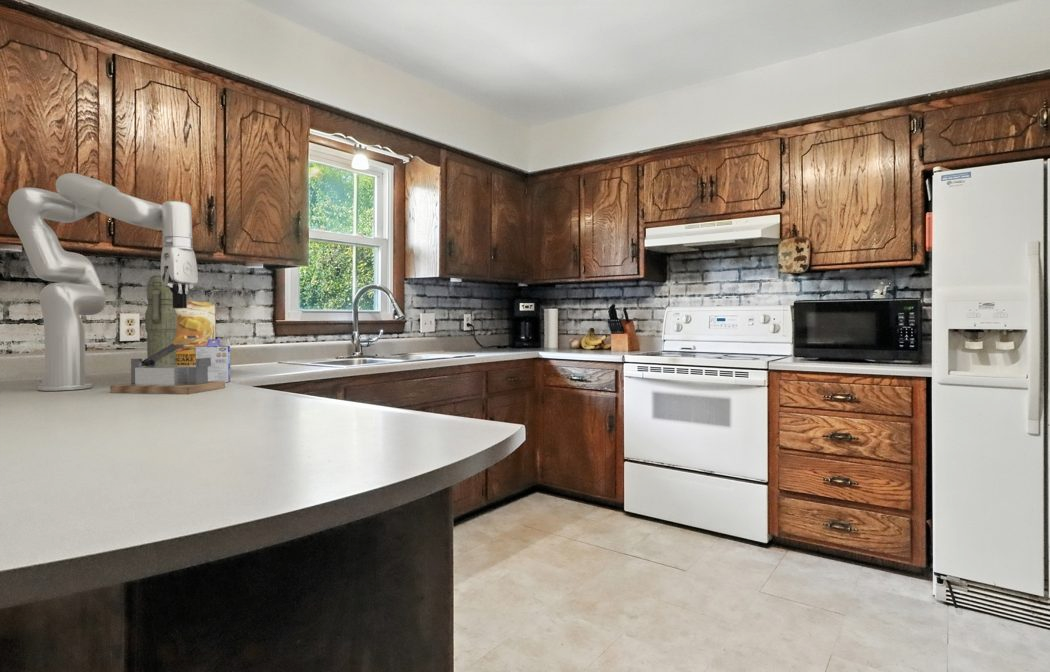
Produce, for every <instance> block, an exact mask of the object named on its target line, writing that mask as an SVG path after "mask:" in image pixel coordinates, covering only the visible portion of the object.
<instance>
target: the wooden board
mask: <svg viewBox="0 0 1050 672" xmlns="http://www.w3.org/2000/svg"><path fill="white" fill-rule="evenodd" d="M109 387H110V388H109V389H110V390H109V391H110V393H111V394H155V395H156V394H160V395H161V394H164V395H165V394H167V395H193V394H198V393H203V392H204V393H205V392H209V391H215V390H222V389H226V382H225V381H208V383H205V384H198V385H189V384H184V385H177V386H150V385H135V384H131V383H121V384H112V385H110V386H109Z"/></svg>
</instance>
